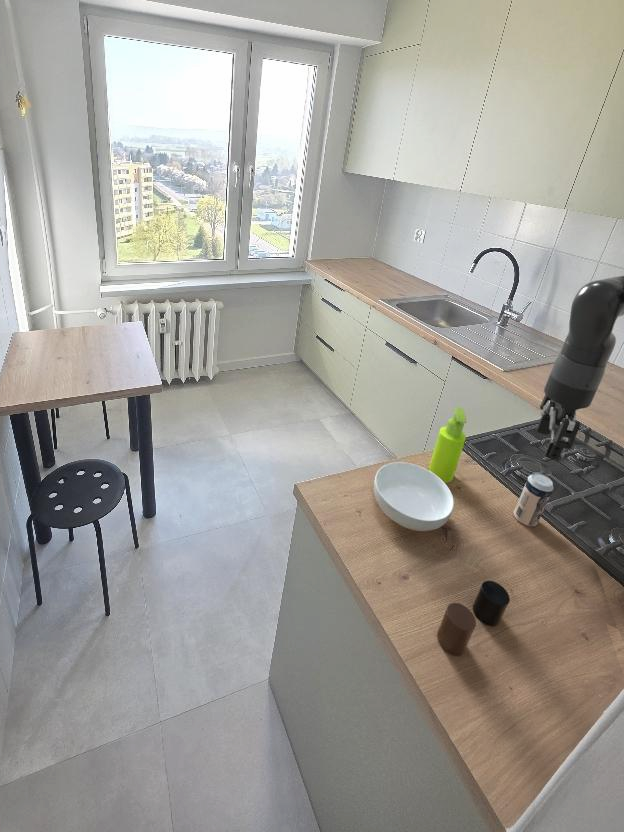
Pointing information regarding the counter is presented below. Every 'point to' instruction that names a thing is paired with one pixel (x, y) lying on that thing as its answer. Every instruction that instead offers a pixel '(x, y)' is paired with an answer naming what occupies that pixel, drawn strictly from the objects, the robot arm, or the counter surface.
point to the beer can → (533, 499)
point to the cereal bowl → (413, 496)
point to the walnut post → (456, 629)
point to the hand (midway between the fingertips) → (546, 444)
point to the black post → (491, 603)
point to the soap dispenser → (449, 447)
